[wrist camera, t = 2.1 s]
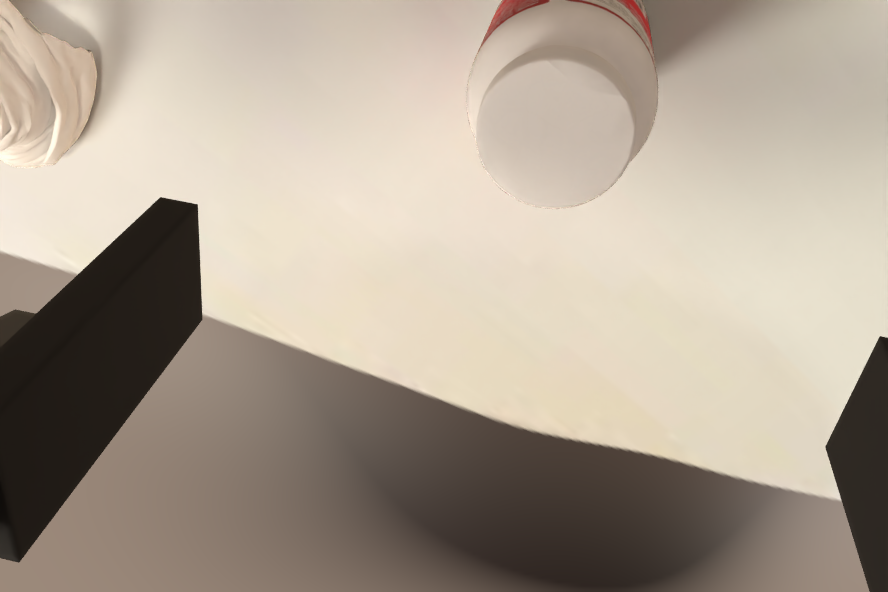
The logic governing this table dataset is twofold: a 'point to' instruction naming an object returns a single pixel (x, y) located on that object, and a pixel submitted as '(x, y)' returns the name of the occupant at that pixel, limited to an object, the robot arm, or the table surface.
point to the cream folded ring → (40, 92)
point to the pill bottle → (562, 97)
